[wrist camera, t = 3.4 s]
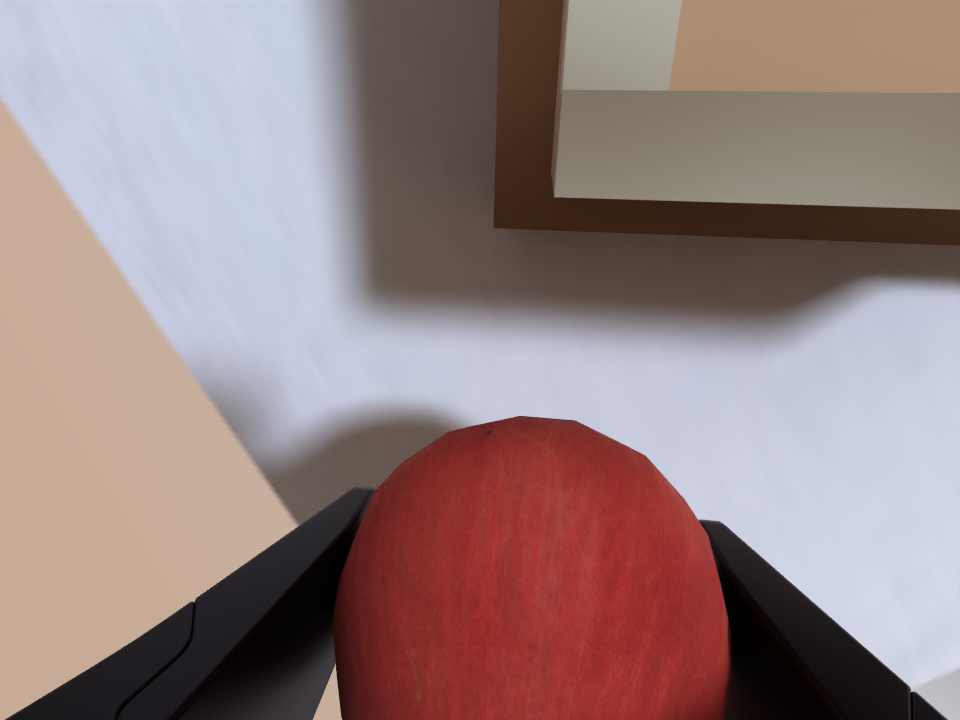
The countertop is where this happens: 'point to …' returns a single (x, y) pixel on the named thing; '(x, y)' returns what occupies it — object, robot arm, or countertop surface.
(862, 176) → the wooden tray on base
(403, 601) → the onion
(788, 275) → the countertop surface
